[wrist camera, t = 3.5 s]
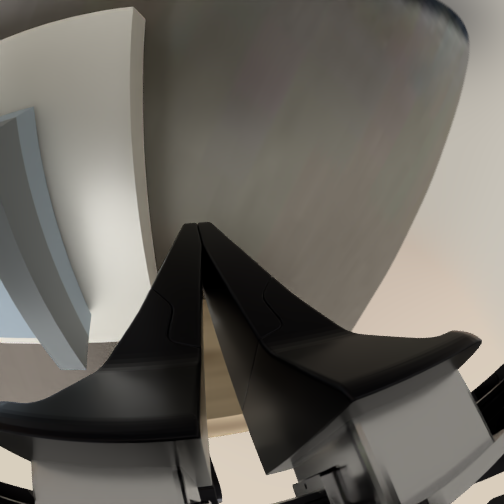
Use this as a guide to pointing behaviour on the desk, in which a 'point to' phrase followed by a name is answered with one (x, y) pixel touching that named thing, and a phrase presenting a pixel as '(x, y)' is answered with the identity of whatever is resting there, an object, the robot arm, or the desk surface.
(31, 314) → the sliding cover
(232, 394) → the wooden peg
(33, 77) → the socket base
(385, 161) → the desk surface
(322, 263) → the desk surface
